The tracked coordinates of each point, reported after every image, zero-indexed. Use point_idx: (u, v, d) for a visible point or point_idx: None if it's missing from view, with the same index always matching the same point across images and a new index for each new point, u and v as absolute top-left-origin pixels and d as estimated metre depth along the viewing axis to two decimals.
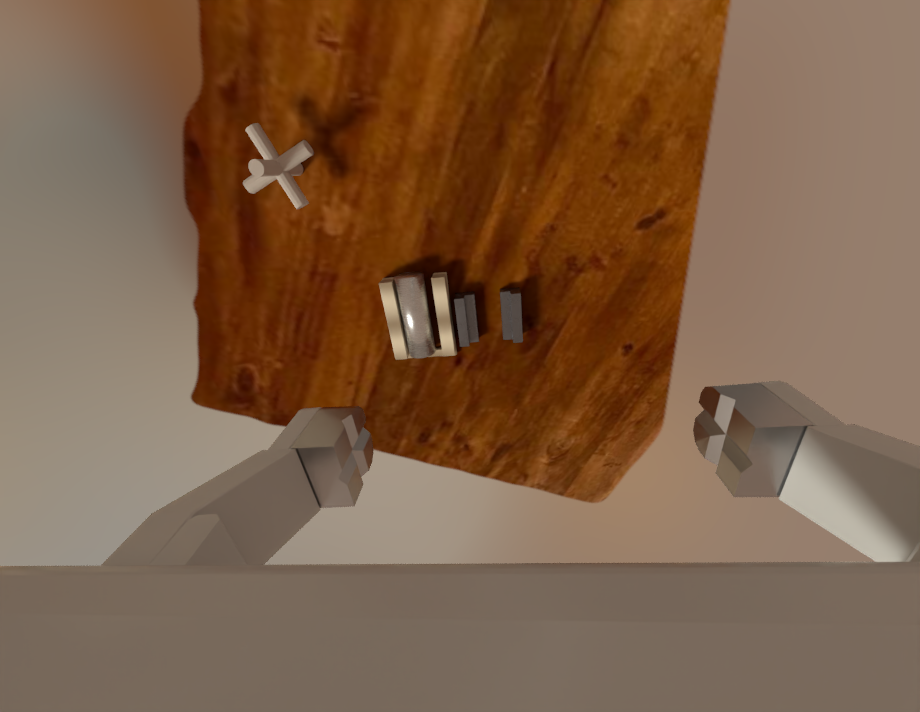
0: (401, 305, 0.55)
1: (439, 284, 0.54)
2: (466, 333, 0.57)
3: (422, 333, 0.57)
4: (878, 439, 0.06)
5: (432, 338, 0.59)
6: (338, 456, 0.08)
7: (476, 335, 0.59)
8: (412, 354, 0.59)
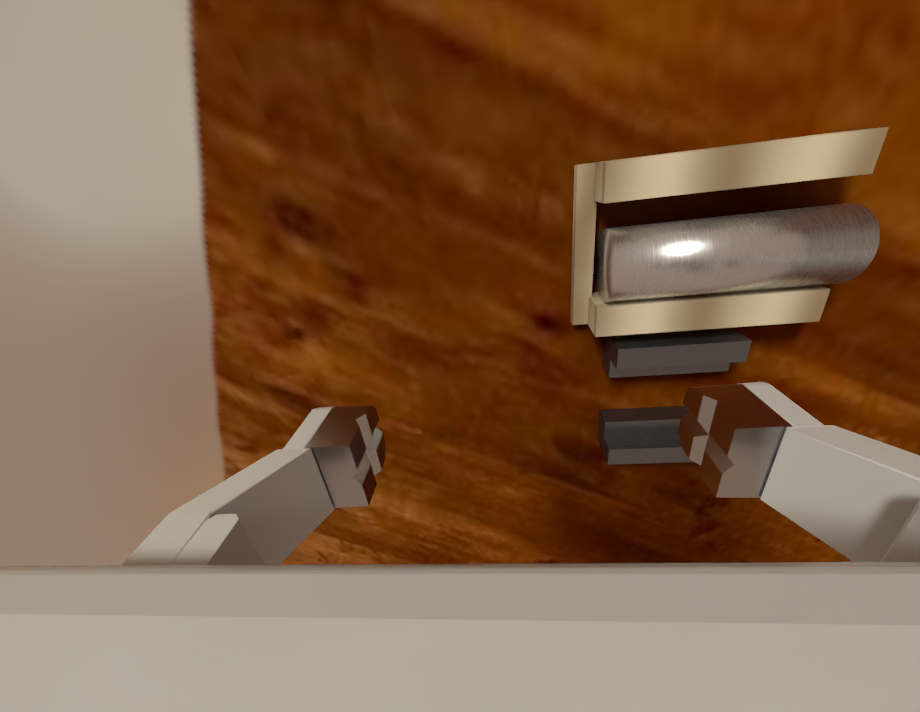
0: (790, 249, 0.19)
1: (804, 309, 0.22)
2: (652, 364, 0.24)
3: (678, 295, 0.22)
4: (855, 440, 0.06)
5: None
6: (353, 455, 0.08)
7: (625, 373, 0.26)
8: (624, 271, 0.20)
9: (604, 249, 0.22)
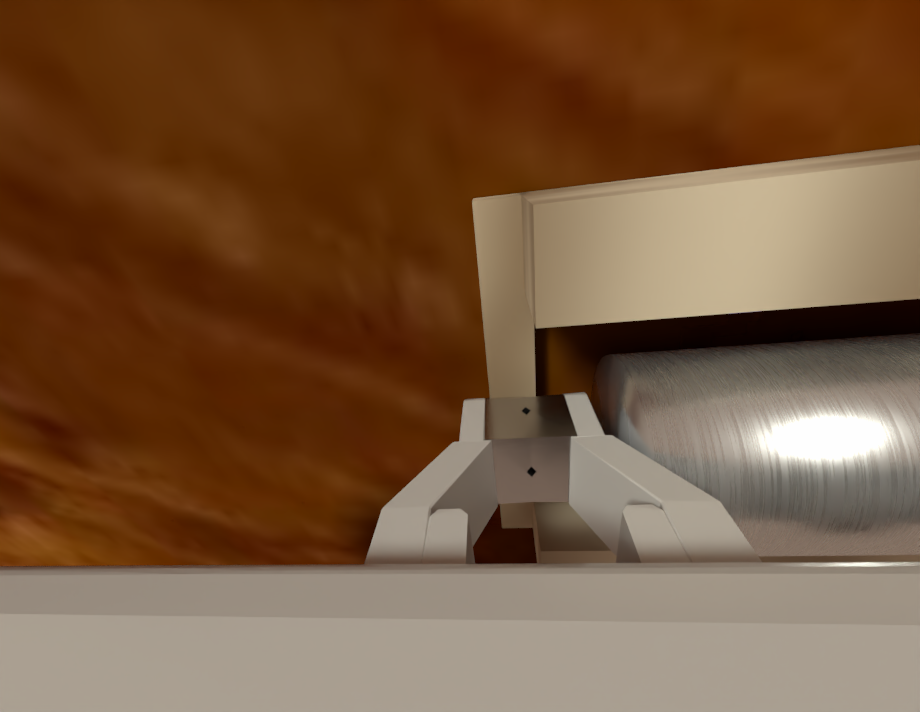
0: None
1: None
2: None
3: None
4: (618, 449, 0.06)
5: None
6: (533, 448, 0.07)
7: None
8: None
9: (616, 409, 0.08)
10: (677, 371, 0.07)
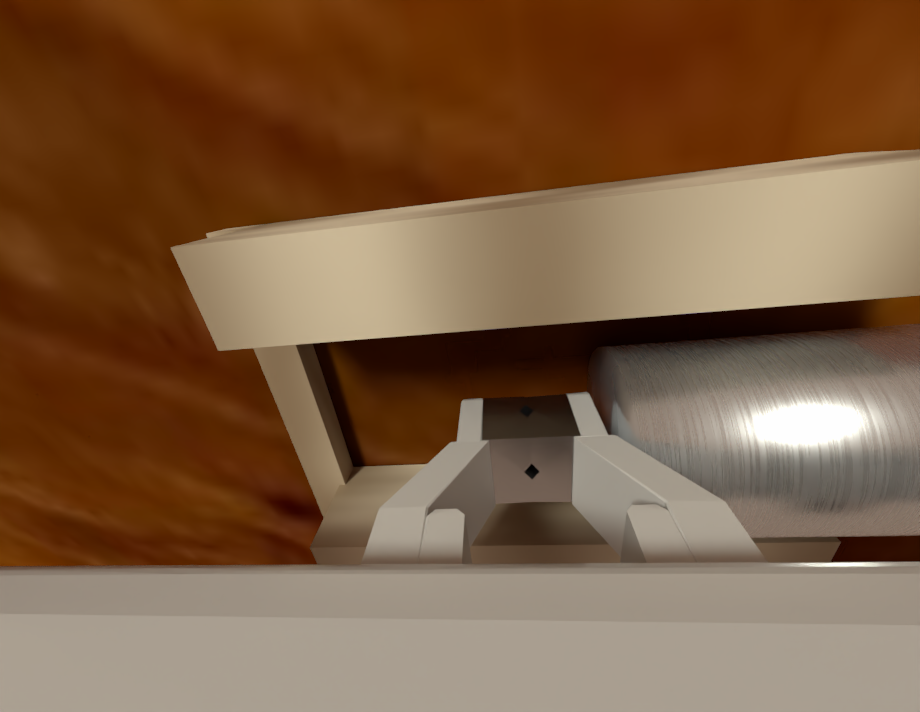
0: None
1: None
2: None
3: None
4: (622, 449, 0.06)
5: None
6: (530, 448, 0.07)
7: None
8: None
9: (606, 398, 0.09)
10: (663, 360, 0.07)
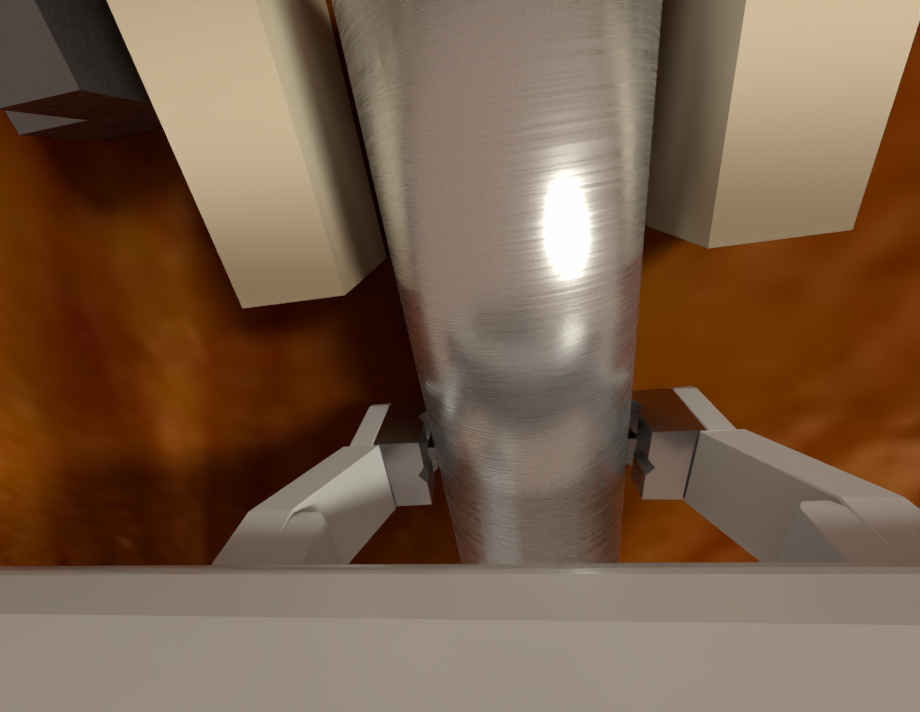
0: (598, 475, 0.07)
1: (263, 244, 0.06)
2: None
3: (409, 224, 0.05)
4: (760, 444, 0.06)
5: None
6: (421, 453, 0.07)
7: None
8: None
9: None
10: None
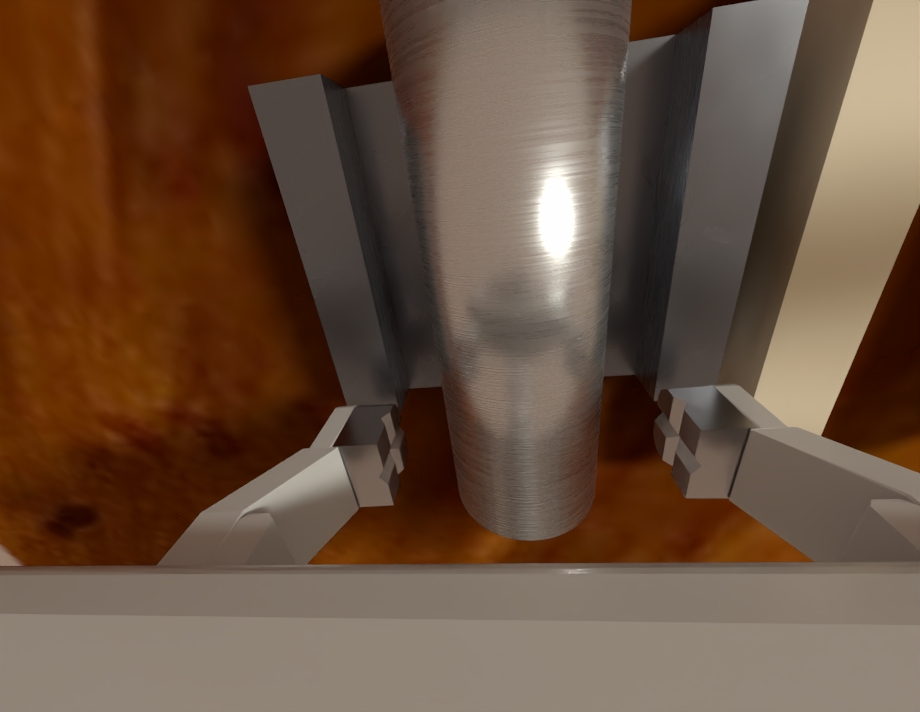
0: (575, 409, 0.08)
1: None
2: (702, 155, 0.07)
3: (436, 200, 0.07)
4: (816, 441, 0.06)
5: None
6: (380, 454, 0.08)
7: None
8: None
9: None
10: None
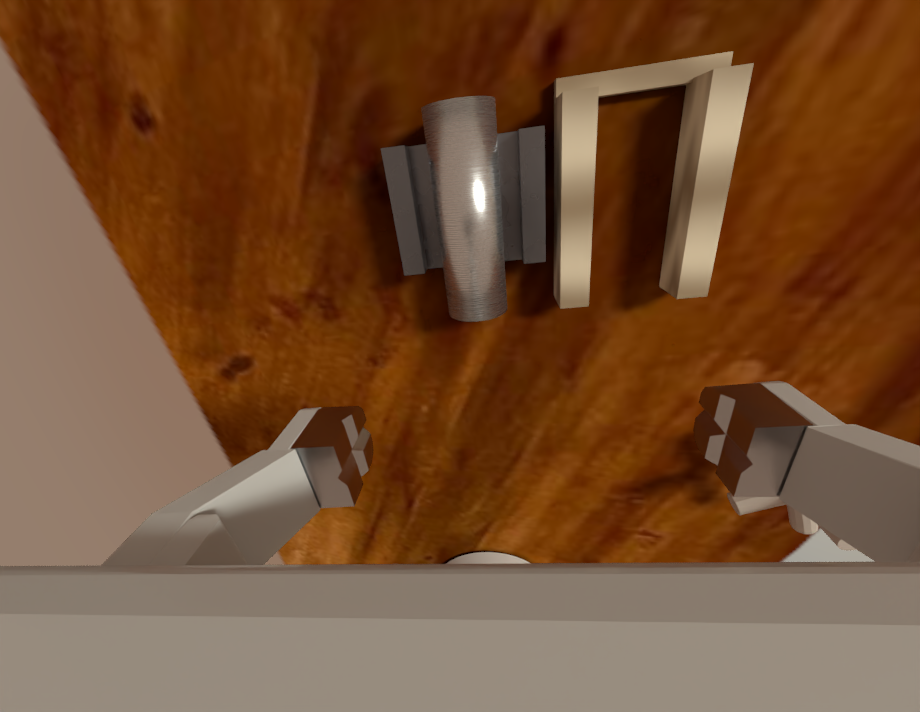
0: (489, 259, 0.24)
1: (572, 293, 0.26)
2: (524, 170, 0.22)
3: (440, 184, 0.22)
4: (878, 439, 0.06)
5: None
6: (338, 456, 0.08)
7: (498, 154, 0.23)
8: (471, 108, 0.20)
9: None
10: None
